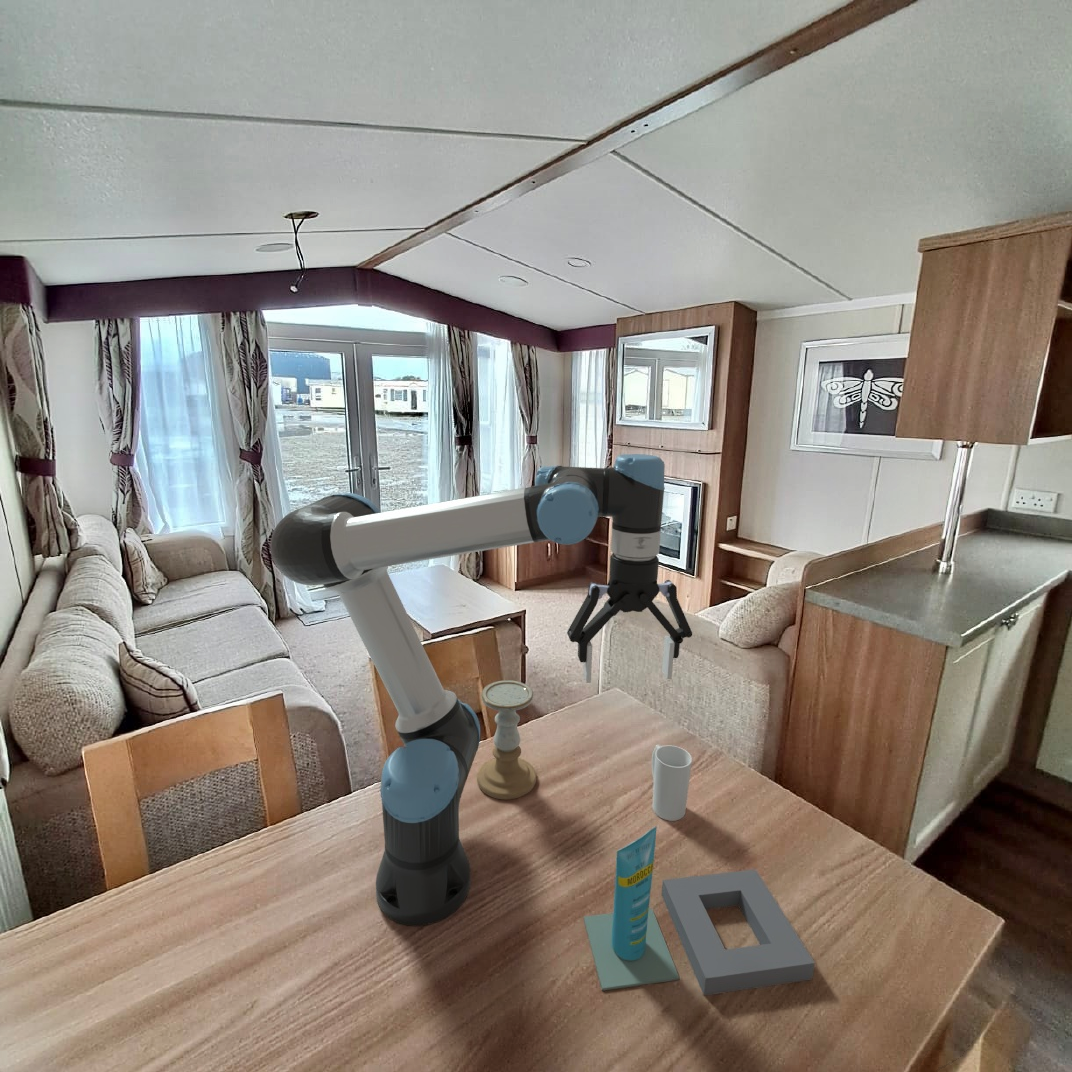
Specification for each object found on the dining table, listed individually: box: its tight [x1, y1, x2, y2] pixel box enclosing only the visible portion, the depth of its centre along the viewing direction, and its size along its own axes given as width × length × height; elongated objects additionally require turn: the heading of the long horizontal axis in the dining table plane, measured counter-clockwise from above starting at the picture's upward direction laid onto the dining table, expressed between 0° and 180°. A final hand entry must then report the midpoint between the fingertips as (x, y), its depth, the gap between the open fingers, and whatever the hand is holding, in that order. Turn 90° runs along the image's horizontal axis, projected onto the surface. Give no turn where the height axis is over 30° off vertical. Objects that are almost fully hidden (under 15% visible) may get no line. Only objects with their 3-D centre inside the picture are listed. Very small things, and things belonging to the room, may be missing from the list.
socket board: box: [661, 869, 816, 996], centre depth 87 cm, size 16×16×3 cm
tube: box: [611, 825, 658, 961], centre depth 82 cm, size 7×5×19 cm, turn 131°
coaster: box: [583, 907, 680, 991], centre depth 85 cm, size 11×11×1 cm
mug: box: [651, 743, 693, 822], centre depth 112 cm, size 10×7×12 cm, turn 20°
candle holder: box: [476, 679, 537, 800], centre depth 117 cm, size 12×12×20 cm
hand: (627, 677), depth 96 cm, fingers open, 13 cm apart
